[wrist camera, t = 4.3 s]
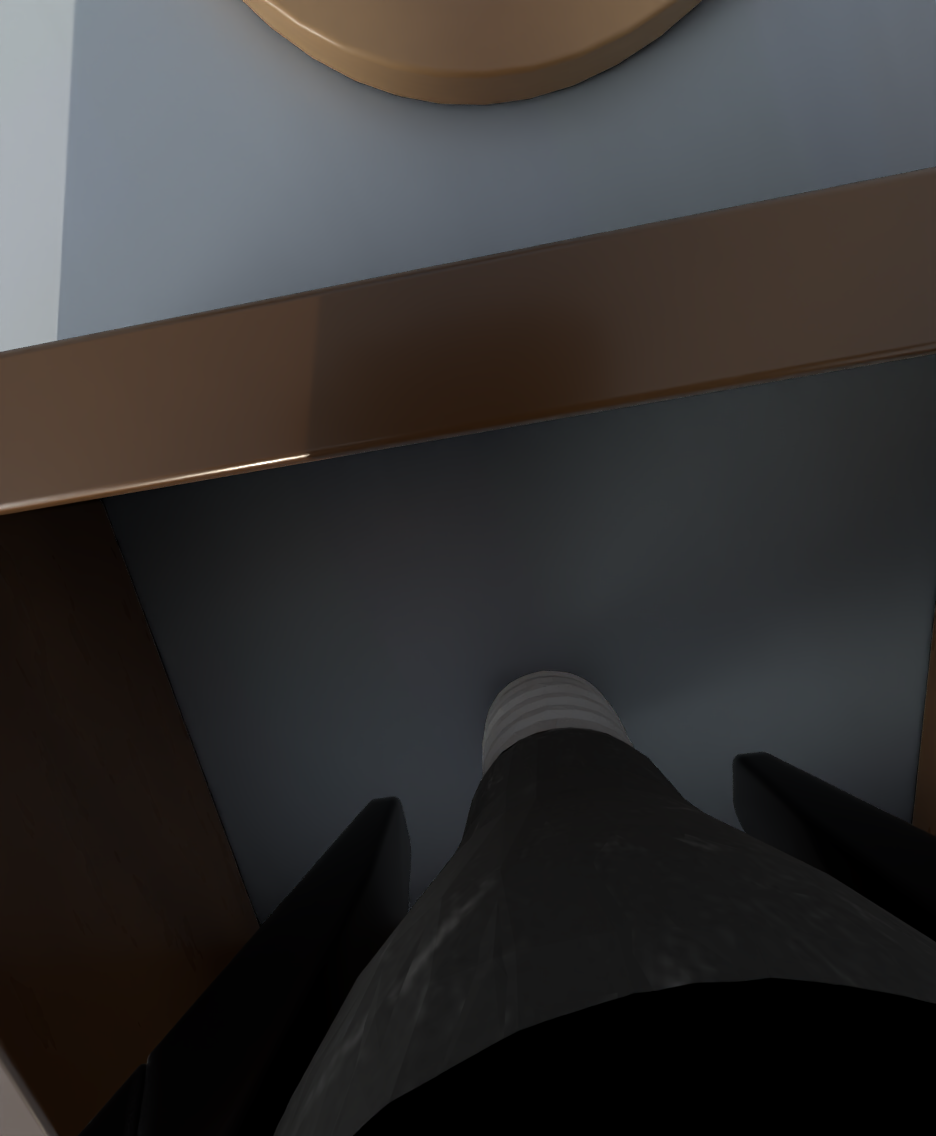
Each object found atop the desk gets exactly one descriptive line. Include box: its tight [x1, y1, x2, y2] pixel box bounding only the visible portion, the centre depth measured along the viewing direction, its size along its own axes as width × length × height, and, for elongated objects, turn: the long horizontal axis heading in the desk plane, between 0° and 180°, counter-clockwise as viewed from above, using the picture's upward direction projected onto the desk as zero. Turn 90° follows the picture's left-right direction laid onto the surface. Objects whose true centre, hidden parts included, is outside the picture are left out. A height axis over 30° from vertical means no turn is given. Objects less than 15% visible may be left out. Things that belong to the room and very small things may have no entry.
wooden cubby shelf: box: [0, 167, 936, 1136], centre depth 7 cm, size 17×13×5 cm
